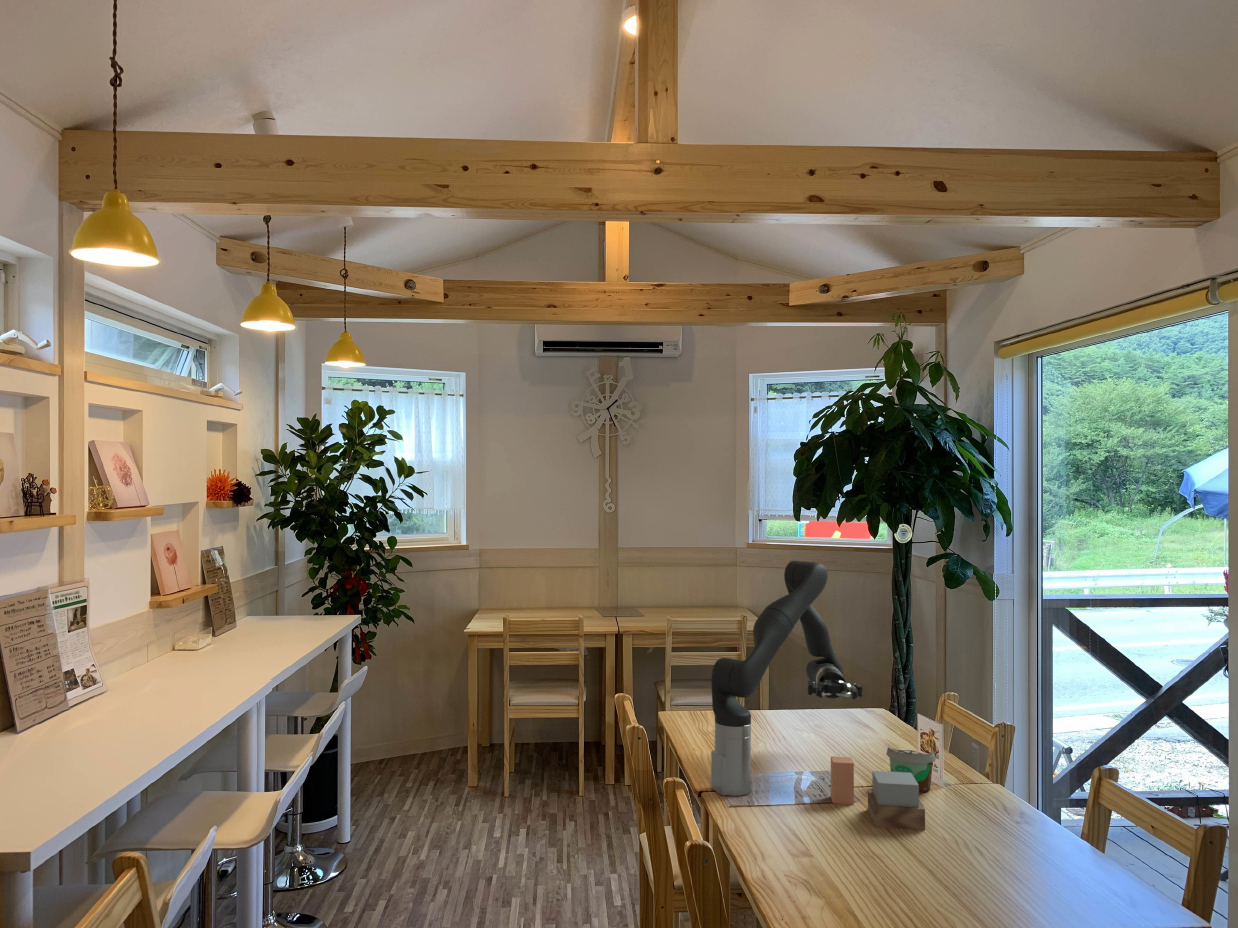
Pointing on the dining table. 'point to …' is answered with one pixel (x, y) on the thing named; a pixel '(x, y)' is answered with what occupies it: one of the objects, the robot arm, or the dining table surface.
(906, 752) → the food container
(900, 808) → the walnut base slab
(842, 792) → the terracotta pillar
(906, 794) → the slate top slab
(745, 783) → the robot arm
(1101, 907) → the dining table surface
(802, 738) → the dining table surface
